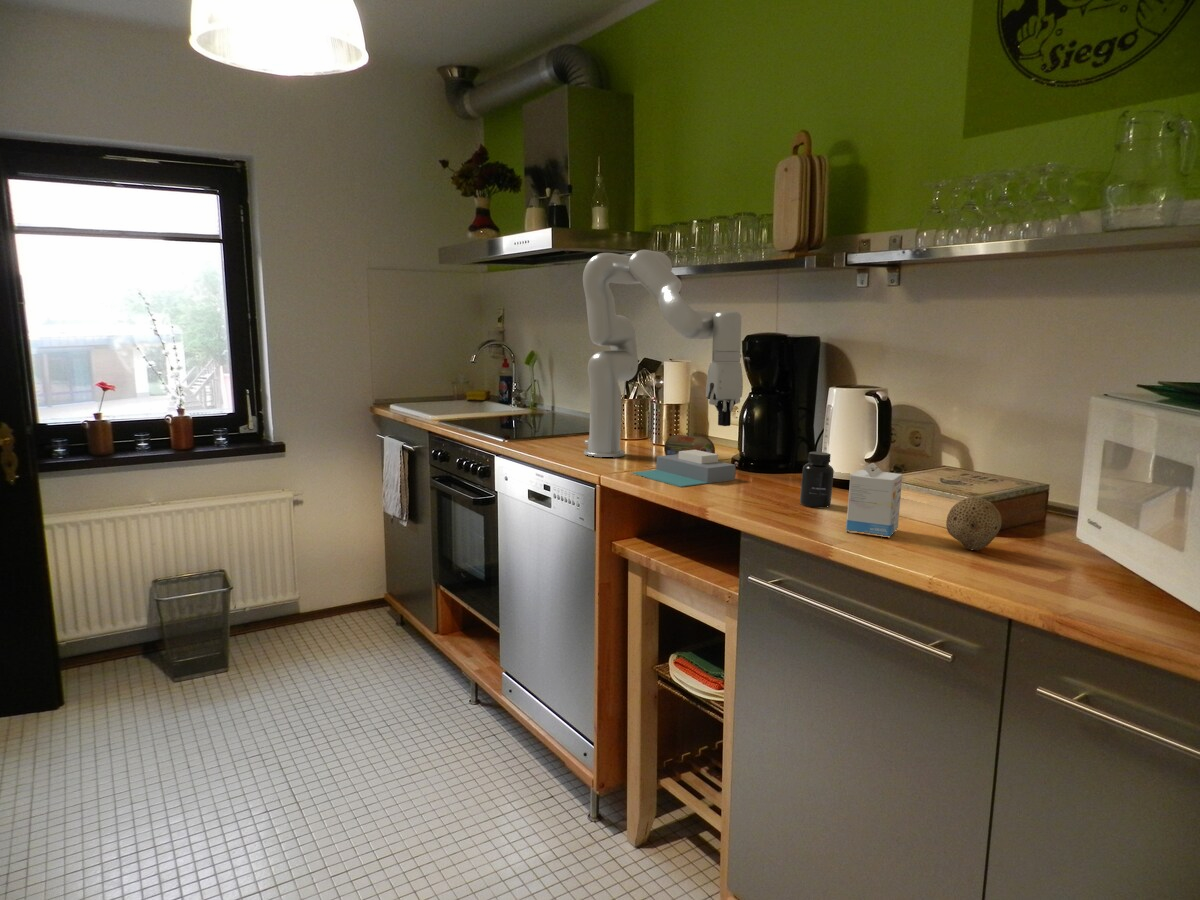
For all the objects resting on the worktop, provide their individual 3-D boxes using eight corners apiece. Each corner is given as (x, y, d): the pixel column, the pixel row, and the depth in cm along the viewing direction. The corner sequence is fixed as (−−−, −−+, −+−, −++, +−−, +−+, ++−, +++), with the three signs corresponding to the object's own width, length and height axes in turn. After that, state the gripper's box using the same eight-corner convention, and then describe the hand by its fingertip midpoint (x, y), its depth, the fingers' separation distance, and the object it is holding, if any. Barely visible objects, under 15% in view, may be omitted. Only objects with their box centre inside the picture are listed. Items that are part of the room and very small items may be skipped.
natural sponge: (972, 559, 136) (978, 504, 135) (932, 546, 144) (937, 494, 143) (1008, 554, 140) (1014, 501, 138) (967, 541, 148) (973, 490, 146)
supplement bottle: (814, 509, 171) (818, 456, 170) (793, 503, 177) (797, 451, 175) (837, 506, 175) (841, 454, 173) (816, 500, 181) (819, 450, 179)
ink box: (889, 539, 148) (895, 471, 146) (844, 532, 153) (850, 466, 150) (898, 530, 155) (904, 464, 153) (855, 523, 160) (861, 460, 158)
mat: (630, 473, 207) (630, 472, 207) (656, 470, 213) (656, 469, 213) (680, 487, 192) (680, 486, 192) (707, 483, 197) (707, 482, 197)
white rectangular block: (678, 458, 209) (678, 451, 209) (694, 456, 213) (694, 449, 213) (701, 463, 202) (701, 456, 202) (717, 461, 206) (718, 454, 206)
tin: (663, 461, 227) (664, 433, 226) (667, 460, 230) (668, 432, 229) (711, 467, 220) (713, 438, 219) (715, 465, 223) (717, 436, 222)
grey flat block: (656, 470, 213) (656, 456, 212) (683, 467, 219) (683, 453, 218) (707, 483, 197) (707, 468, 196) (734, 479, 203) (735, 464, 202)
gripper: (735, 357, 216) (733, 422, 218) (696, 357, 207) (694, 426, 209) (755, 358, 210) (753, 425, 212) (716, 358, 201) (714, 428, 204)
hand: (724, 425), depth 211 cm, fingers closed
